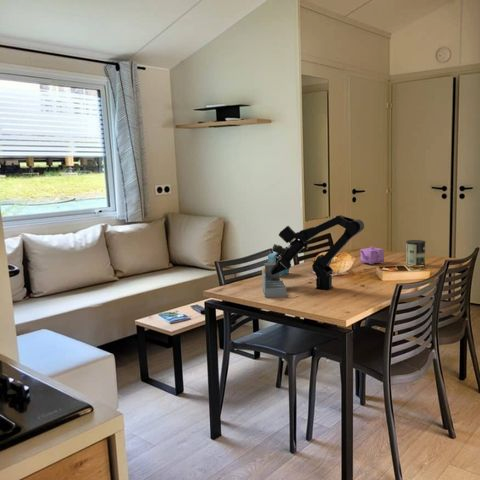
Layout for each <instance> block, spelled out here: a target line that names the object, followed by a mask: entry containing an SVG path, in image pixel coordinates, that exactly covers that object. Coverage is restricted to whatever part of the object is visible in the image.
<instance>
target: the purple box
mask: <svg viewBox="0 0 480 480" xmlns="http://www.w3.org/2000/svg"><path fill="white" fill-rule="evenodd" d="M359 252H360V263H362V262H365V263H369V264H368V265H370V264H374V263H380V262H383V263H384V262H385V249H383V248H378V247H375V246H374V245H373V246H370V247H368V248H366V247H365V248H360V250H359ZM365 263H364V264H365ZM380 264H381V263H380ZM374 265H375V264H374Z"/></svg>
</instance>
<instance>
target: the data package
mask: <svg viewBox="0 0 480 480" xmlns="http://www.w3.org/2000/svg"><path fill="white" fill-rule="evenodd" d="M276 254H277V252H273V253H268V255H267V263H270V262H275V261H276V259H275V256H276ZM276 257H277V256H276ZM289 271H290V269H289V270H288V269H286V270H283V271H281V272H280V275H281V276H283V275H284V274H285V275H288V274H289Z"/></svg>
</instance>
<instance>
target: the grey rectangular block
mask: <svg viewBox="0 0 480 480" xmlns="http://www.w3.org/2000/svg"><path fill="white" fill-rule="evenodd" d="M276 265H277V262H270V263H268V262H264V269H265V275H266V281H281V276H280V272H278V273H276V274H274V275H272V274H271V273H272V271H273V270H274V268H275V267H276Z"/></svg>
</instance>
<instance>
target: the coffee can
mask: <svg viewBox="0 0 480 480" xmlns="http://www.w3.org/2000/svg"><path fill="white" fill-rule="evenodd" d="M405 244H406V247H405V248H406V251H405V253H406V260H405V261H406V262H405V264H406V263H407V264H412V265H425V266H426V240H422V239H409V240H406V241H405Z"/></svg>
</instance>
